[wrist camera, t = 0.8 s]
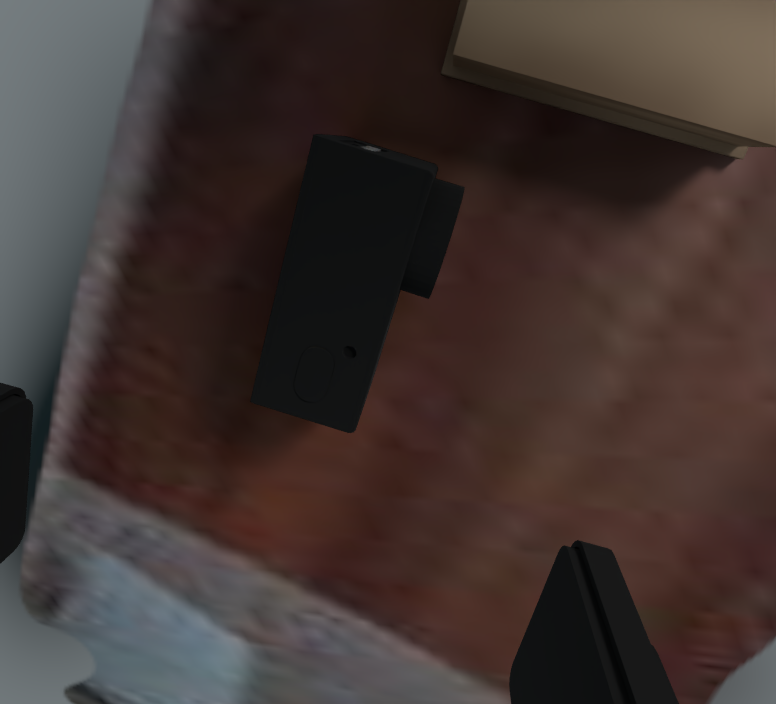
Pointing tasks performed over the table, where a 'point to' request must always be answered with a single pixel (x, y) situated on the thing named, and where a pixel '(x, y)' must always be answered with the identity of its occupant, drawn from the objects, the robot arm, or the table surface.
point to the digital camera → (350, 274)
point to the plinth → (631, 63)
